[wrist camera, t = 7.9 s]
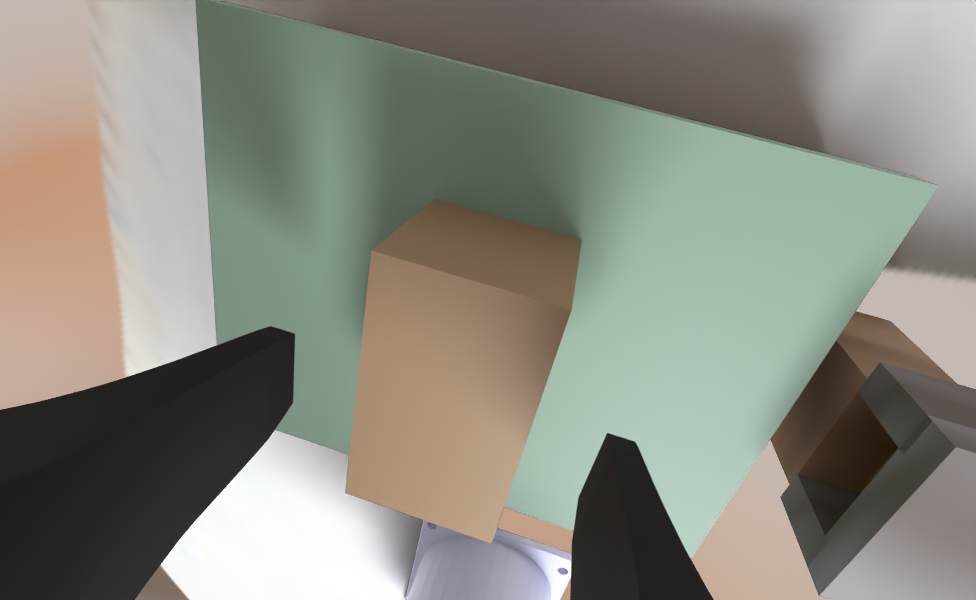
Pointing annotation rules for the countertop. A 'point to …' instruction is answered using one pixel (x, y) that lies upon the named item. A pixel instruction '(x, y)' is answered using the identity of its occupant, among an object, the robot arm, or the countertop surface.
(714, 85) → the countertop surface
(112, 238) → the countertop surface
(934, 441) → the wooden box
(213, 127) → the lid
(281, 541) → the countertop surface
